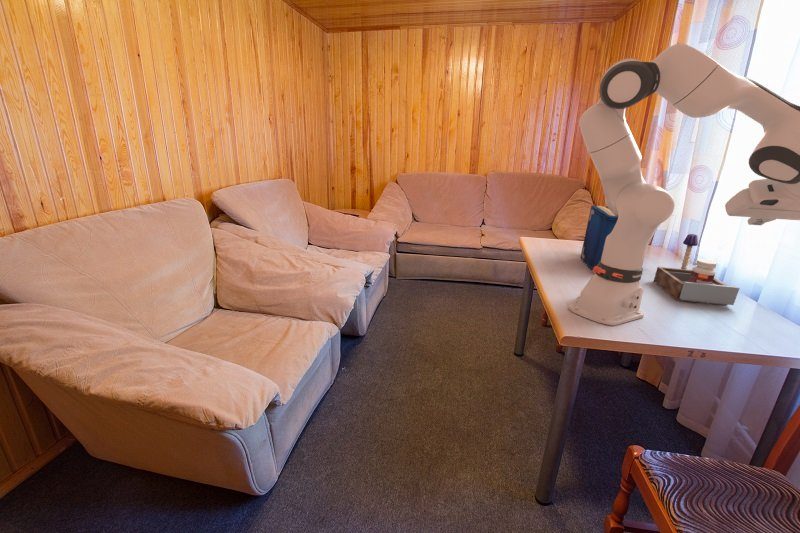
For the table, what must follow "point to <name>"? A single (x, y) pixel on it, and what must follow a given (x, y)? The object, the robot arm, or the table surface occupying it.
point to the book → (597, 234)
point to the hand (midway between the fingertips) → (753, 223)
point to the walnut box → (675, 282)
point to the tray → (706, 291)
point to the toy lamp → (689, 248)
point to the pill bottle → (703, 272)
